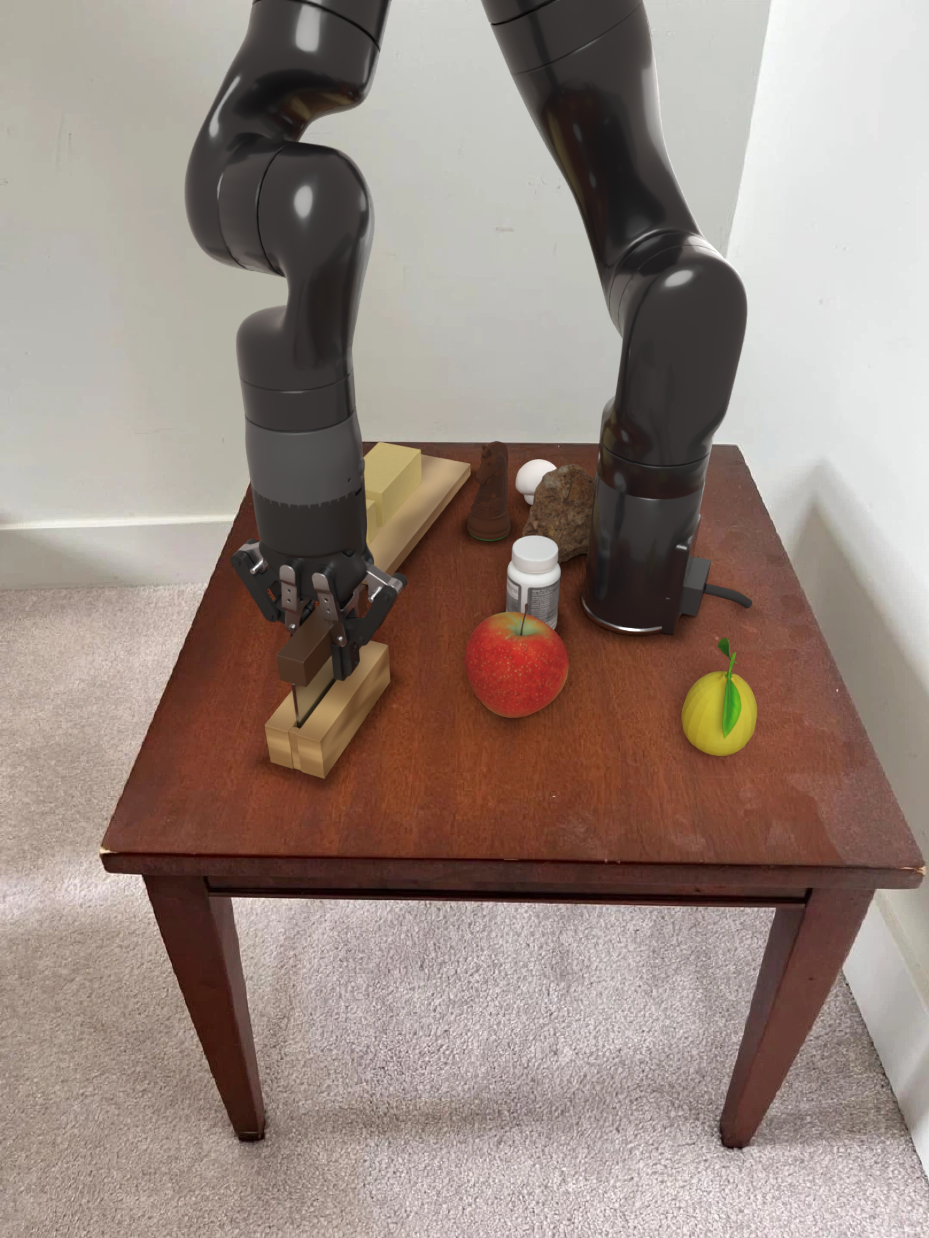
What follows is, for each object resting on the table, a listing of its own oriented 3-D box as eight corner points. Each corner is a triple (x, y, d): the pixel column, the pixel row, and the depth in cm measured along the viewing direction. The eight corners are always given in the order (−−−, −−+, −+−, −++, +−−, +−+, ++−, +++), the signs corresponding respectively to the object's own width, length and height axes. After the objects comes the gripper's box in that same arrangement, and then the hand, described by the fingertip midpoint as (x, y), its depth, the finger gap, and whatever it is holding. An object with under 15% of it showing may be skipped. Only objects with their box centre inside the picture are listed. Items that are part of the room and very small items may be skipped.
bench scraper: (348, 678, 80) (340, 579, 74) (372, 685, 80) (365, 585, 73) (290, 758, 73) (275, 655, 67) (316, 765, 72) (303, 662, 66)
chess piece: (458, 531, 99) (458, 445, 93) (487, 511, 102) (489, 427, 96) (493, 546, 97) (495, 459, 91) (521, 526, 100) (526, 440, 94)
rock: (521, 575, 92) (524, 476, 88) (519, 551, 98) (522, 458, 94) (618, 576, 92) (626, 478, 88) (610, 553, 98) (618, 459, 94)
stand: (341, 668, 81) (337, 631, 79) (390, 681, 80) (388, 644, 78) (270, 762, 73) (263, 724, 70) (324, 779, 71) (319, 741, 69)
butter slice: (377, 534, 96) (375, 500, 93) (369, 543, 94) (367, 509, 92) (333, 525, 97) (330, 491, 95) (324, 533, 96) (321, 499, 93)
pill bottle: (562, 614, 88) (569, 538, 83) (549, 644, 84) (555, 567, 79) (513, 604, 89) (517, 528, 84) (498, 633, 85) (501, 556, 80)
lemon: (703, 709, 78) (725, 613, 72) (765, 747, 74) (793, 649, 68) (653, 749, 74) (671, 651, 68) (715, 790, 71) (741, 691, 65)
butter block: (421, 482, 104) (421, 449, 102) (383, 526, 97) (382, 492, 94) (380, 473, 106) (379, 441, 103) (340, 517, 98) (337, 483, 96)
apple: (444, 698, 78) (444, 602, 72) (519, 661, 82) (524, 566, 76) (506, 754, 73) (511, 656, 67) (582, 711, 77) (593, 615, 71)
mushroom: (511, 510, 102) (512, 470, 99) (518, 489, 106) (520, 449, 103) (556, 516, 102) (559, 475, 99) (562, 494, 105) (565, 454, 102)
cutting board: (470, 475, 109) (470, 463, 108) (382, 588, 91) (381, 575, 90) (376, 456, 112) (375, 445, 111) (273, 562, 94) (271, 549, 93)
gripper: (185, 478, 62) (224, 677, 72) (378, 519, 58) (389, 723, 68) (246, 429, 67) (273, 621, 78) (425, 465, 63) (429, 661, 74)
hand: (327, 668), depth 73 cm, fingers closed on bench scraper, 2 cm apart
